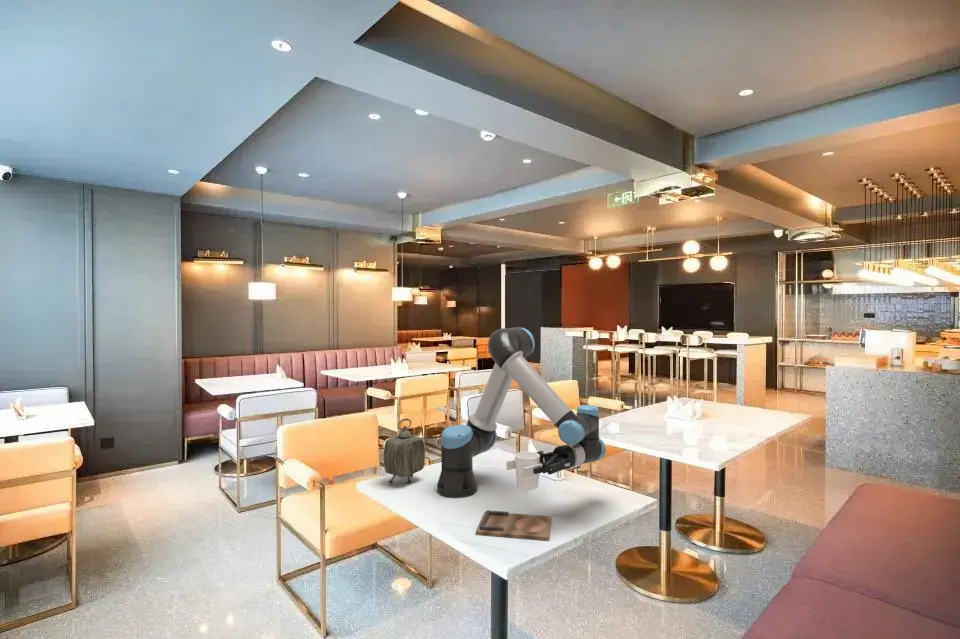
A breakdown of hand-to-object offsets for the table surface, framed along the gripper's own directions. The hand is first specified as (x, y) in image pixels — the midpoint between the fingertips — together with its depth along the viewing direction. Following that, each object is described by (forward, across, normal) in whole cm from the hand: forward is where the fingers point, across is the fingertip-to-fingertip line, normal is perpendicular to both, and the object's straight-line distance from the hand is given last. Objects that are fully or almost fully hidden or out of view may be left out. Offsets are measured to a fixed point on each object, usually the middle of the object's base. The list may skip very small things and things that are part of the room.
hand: (515, 469), depth 155 cm
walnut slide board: (0, +1, -18) cm, 18 cm away
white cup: (-5, 0, -7) cm, 8 cm away
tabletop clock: (+10, +57, -18) cm, 60 cm away
